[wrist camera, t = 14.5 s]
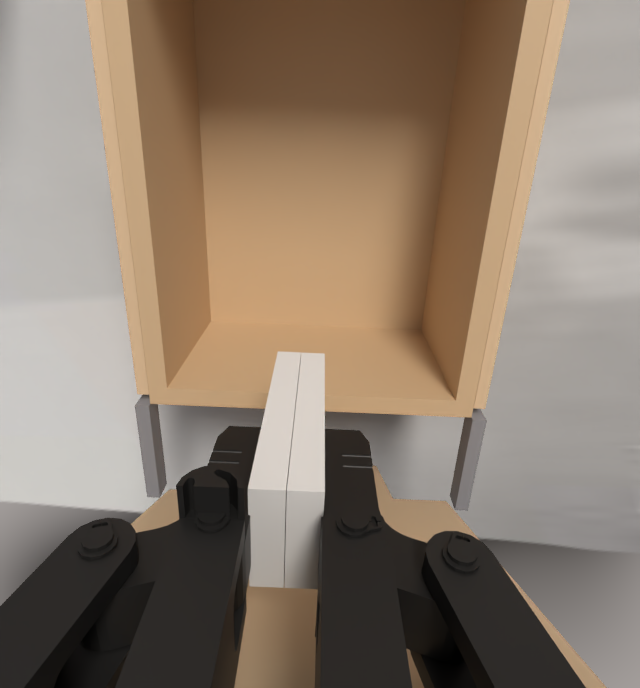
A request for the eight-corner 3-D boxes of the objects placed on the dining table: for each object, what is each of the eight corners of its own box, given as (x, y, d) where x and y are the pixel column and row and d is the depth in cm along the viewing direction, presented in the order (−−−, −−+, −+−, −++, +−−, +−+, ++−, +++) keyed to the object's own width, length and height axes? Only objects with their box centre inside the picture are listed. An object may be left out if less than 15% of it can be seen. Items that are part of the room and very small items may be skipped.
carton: (164, -37, 21) (58, -153, 13) (495, -23, 21) (603, -130, 13) (197, 398, 31) (147, 496, 22) (429, 408, 31) (467, 510, 22)
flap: (-154, 779, 7) (-156, 827, 7) (718, 816, 7) (716, 864, 7) (203, 458, 28) (203, 470, 28) (417, 467, 28) (416, 479, 28)
